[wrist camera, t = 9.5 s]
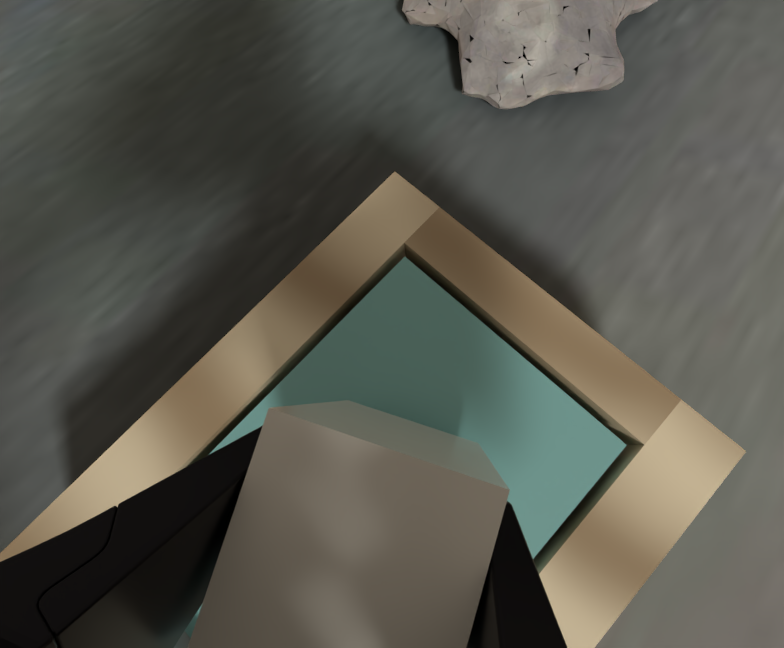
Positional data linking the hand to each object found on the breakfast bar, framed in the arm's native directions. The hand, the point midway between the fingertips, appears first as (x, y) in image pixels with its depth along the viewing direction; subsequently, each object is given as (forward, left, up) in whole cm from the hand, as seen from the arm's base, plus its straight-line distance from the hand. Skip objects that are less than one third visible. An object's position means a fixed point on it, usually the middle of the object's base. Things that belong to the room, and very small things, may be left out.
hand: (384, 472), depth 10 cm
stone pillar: (-1, 0, -5) cm, 5 cm away
